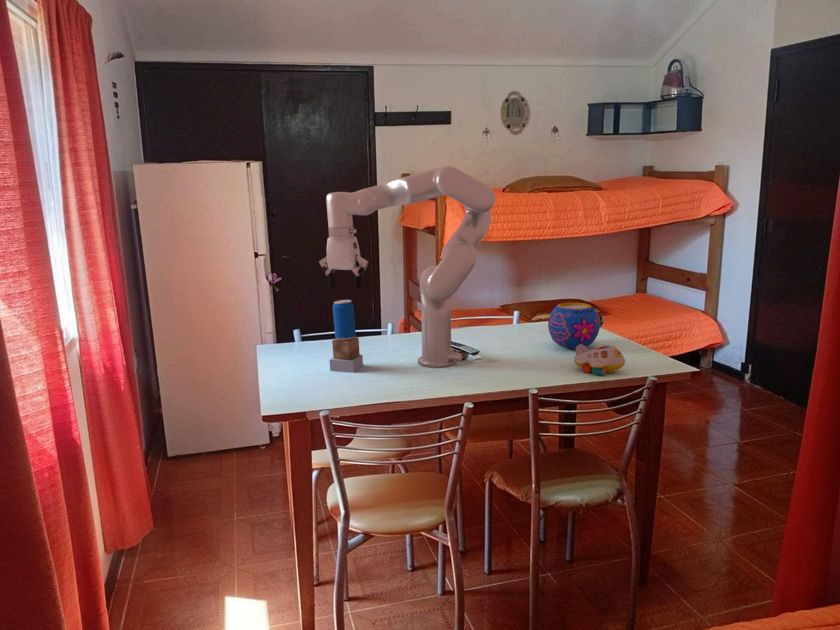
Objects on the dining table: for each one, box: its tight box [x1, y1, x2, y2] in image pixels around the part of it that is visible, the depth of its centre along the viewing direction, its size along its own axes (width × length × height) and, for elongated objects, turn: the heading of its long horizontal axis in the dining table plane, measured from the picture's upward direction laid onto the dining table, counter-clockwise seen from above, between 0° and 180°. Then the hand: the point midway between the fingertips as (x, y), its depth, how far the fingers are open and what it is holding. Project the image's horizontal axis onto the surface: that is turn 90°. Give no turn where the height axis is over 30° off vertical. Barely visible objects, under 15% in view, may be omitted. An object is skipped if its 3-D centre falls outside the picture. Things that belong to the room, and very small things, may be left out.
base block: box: [329, 354, 364, 373], centre depth 215 cm, size 8×8×4 cm
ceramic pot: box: [547, 302, 604, 350], centre depth 233 cm, size 18×18×15 cm
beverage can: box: [332, 299, 357, 340], centre depth 212 cm, size 6×6×12 cm
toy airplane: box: [573, 344, 626, 376], centre depth 205 cm, size 13×9×15 cm
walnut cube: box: [331, 336, 361, 360], centre depth 214 cm, size 6×6×6 cm
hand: (345, 287), depth 210 cm, fingers open, 9 cm apart
